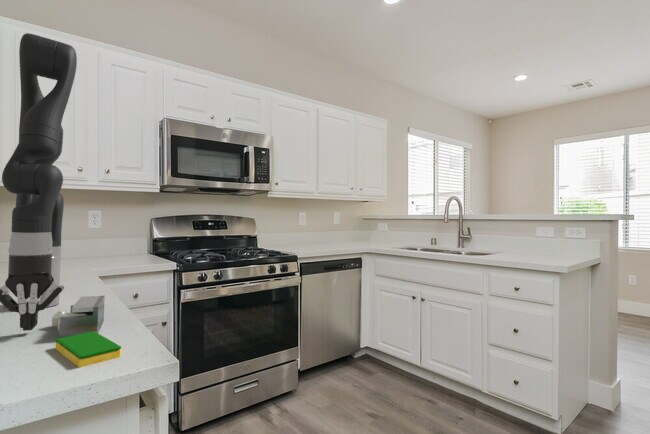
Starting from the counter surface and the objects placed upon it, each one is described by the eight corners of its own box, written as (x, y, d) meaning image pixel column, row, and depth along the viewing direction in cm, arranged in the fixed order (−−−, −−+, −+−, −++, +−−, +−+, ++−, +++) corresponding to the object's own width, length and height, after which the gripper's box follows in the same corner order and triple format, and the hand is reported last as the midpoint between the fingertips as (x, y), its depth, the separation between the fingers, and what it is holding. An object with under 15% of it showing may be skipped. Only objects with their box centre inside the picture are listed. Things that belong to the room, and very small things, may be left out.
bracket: (70, 323, 90) (71, 297, 90) (103, 320, 93) (104, 295, 93) (59, 338, 79) (60, 308, 79) (97, 335, 82) (98, 306, 82)
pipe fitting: (68, 338, 81) (92, 327, 88) (67, 321, 81) (92, 311, 88) (38, 335, 83) (64, 324, 89) (37, 318, 83) (64, 309, 89)
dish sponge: (94, 341, 79) (94, 330, 79) (121, 358, 71) (122, 346, 71) (54, 350, 74) (55, 338, 74) (79, 370, 65) (79, 356, 65)
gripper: (70, 250, 88) (67, 322, 88) (0, 250, 82) (-3, 327, 82) (62, 253, 81) (60, 331, 81) (-15, 254, 75) (-18, 337, 75)
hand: (28, 329), depth 81 cm, fingers closed
